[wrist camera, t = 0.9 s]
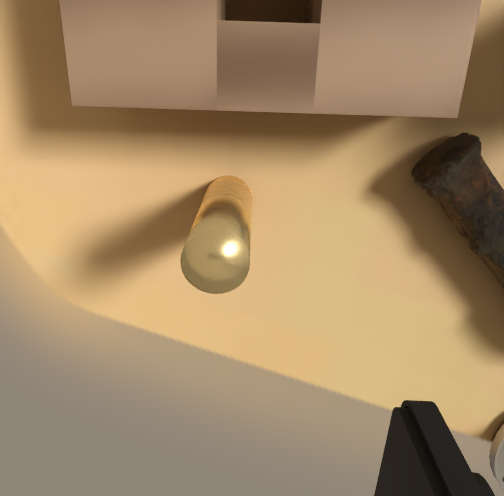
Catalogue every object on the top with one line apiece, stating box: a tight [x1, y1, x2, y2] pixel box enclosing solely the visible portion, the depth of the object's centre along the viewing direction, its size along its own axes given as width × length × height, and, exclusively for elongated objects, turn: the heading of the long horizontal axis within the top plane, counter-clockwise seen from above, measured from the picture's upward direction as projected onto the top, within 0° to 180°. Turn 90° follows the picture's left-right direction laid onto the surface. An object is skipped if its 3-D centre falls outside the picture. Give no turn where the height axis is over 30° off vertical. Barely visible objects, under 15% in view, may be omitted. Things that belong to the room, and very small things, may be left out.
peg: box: [181, 176, 252, 294], centre depth 24 cm, size 3×3×10 cm
